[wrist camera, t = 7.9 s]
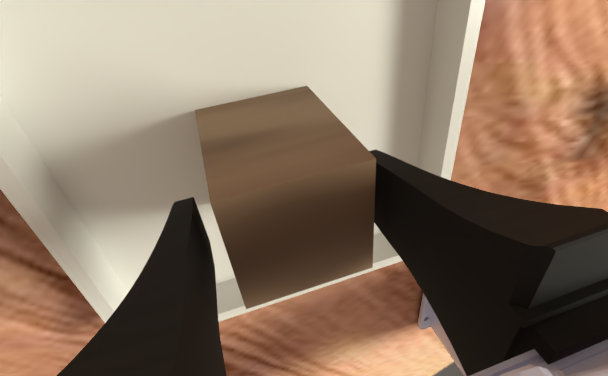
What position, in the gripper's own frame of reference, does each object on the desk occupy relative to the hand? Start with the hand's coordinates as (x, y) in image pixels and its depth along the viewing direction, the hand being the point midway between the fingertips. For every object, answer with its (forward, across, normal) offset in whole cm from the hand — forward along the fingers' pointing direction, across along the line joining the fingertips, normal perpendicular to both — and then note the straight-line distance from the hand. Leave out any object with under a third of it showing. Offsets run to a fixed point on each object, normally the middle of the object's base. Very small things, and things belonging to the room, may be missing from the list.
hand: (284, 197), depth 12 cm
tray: (+4, 0, 0) cm, 4 cm away
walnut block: (+4, 0, 0) cm, 4 cm away
